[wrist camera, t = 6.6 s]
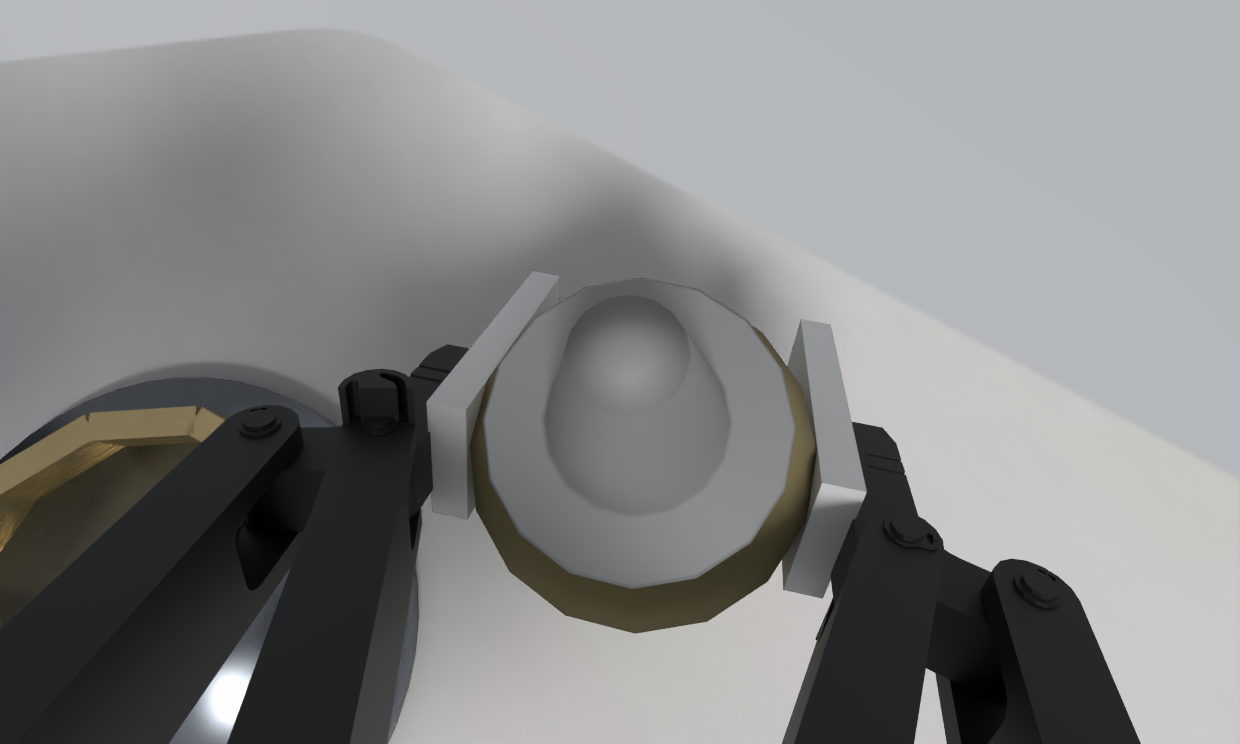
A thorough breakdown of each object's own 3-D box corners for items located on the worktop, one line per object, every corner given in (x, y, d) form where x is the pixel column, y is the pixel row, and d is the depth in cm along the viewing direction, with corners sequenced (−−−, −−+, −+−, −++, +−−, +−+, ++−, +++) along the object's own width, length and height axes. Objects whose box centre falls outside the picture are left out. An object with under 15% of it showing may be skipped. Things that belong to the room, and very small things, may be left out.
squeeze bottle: (708, 352, 25) (840, -101, 7) (796, 560, 23) (1287, 634, 5) (507, 428, 24) (133, 144, 7) (578, 645, 22) (307, 1035, 5)
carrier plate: (-185, 747, 23) (-286, 772, 20) (126, 310, 26) (73, 286, 24) (224, 1051, 20) (165, 1123, 17) (510, 515, 23) (494, 513, 21)
